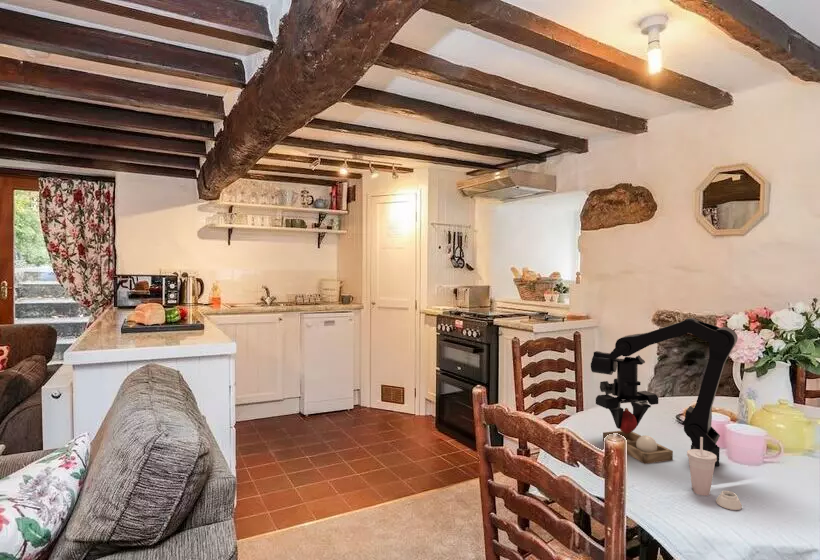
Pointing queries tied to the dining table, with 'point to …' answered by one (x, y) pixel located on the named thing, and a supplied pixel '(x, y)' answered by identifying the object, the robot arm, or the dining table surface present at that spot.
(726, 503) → the beige round hollow piece
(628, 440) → the egg tray
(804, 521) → the dining table surface
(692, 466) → the smoothie
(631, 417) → the onion
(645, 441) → the cream egg
